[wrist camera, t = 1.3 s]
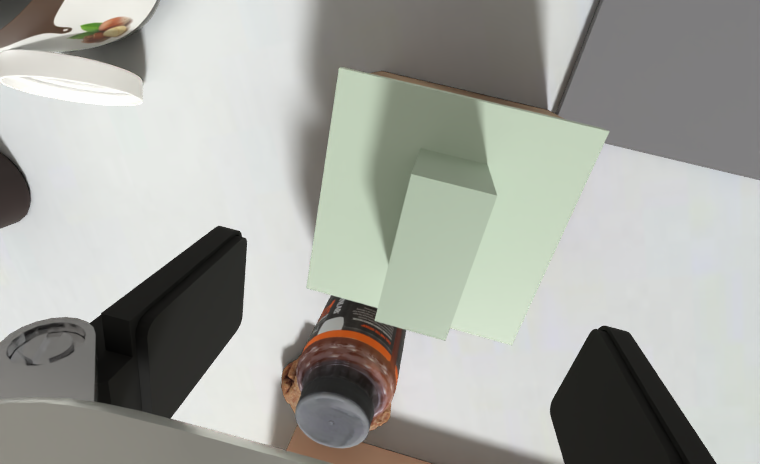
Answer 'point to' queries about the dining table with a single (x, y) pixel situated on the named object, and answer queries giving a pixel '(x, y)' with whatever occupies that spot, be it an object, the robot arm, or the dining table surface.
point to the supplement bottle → (347, 373)
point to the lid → (443, 204)
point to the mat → (673, 80)
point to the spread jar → (70, 48)
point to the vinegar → (12, 193)
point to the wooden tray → (346, 452)
